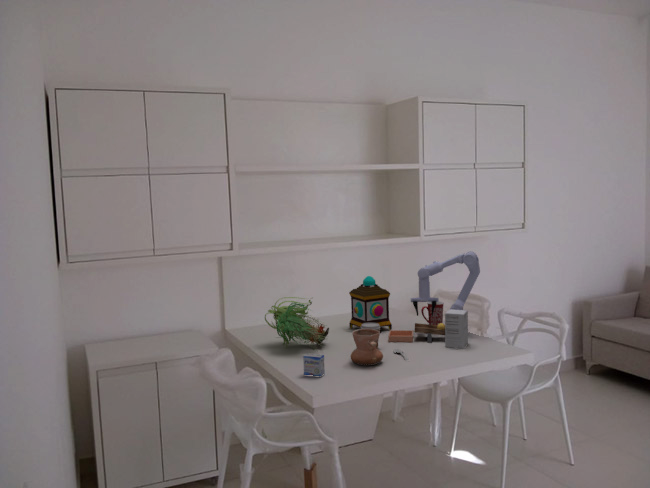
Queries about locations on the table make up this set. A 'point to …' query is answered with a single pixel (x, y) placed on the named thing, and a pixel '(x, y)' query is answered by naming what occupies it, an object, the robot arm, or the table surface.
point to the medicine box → (313, 364)
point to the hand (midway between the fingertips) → (424, 315)
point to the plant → (296, 323)
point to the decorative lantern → (370, 304)
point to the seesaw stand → (429, 337)
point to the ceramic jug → (366, 347)
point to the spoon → (401, 353)
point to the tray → (400, 336)
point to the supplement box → (456, 328)
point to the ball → (441, 326)
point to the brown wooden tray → (428, 329)
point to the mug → (434, 313)
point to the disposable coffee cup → (371, 327)
